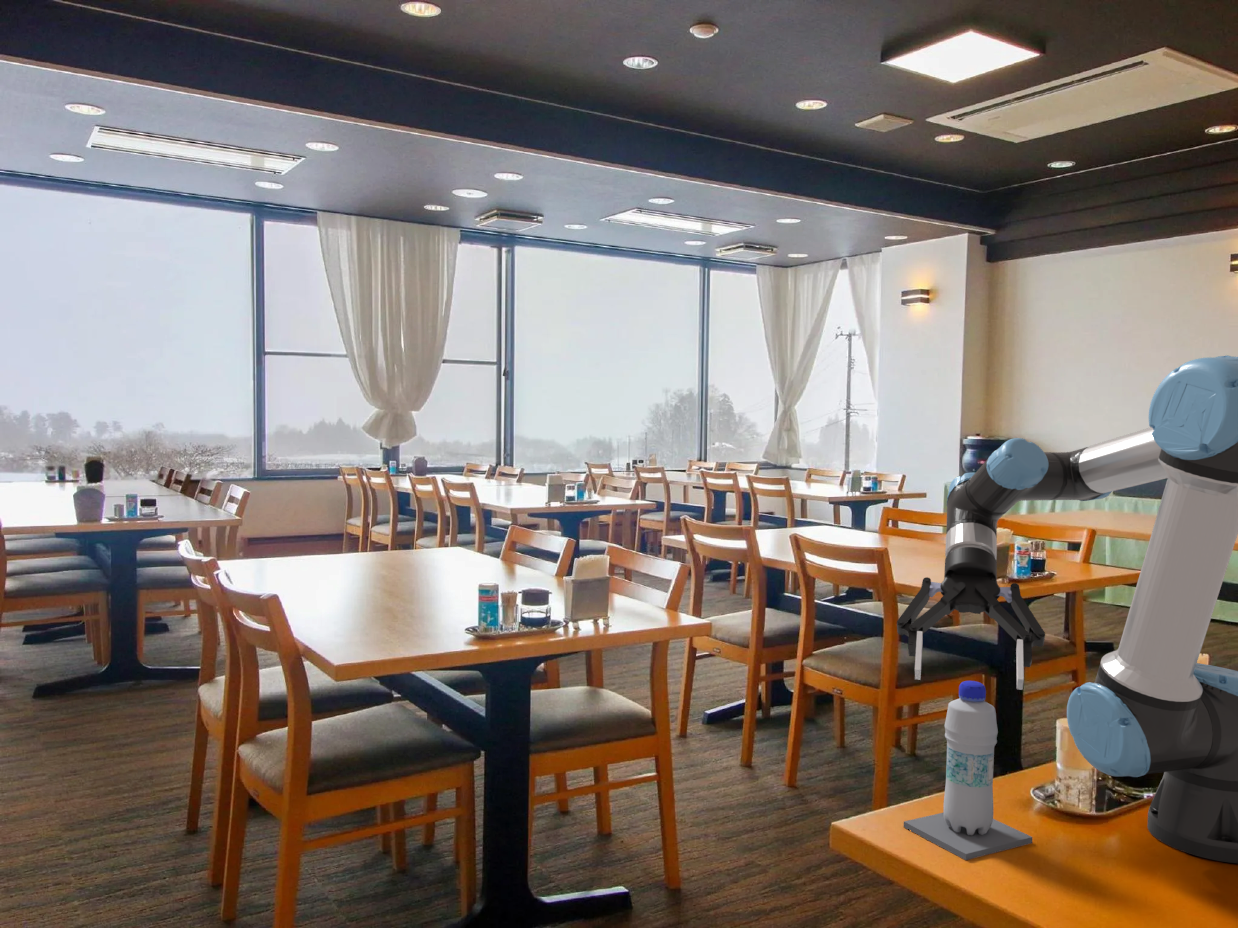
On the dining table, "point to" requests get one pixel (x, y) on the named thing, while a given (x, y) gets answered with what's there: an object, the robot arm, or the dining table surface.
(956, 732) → the bottle
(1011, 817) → the dining table surface
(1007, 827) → the mat
